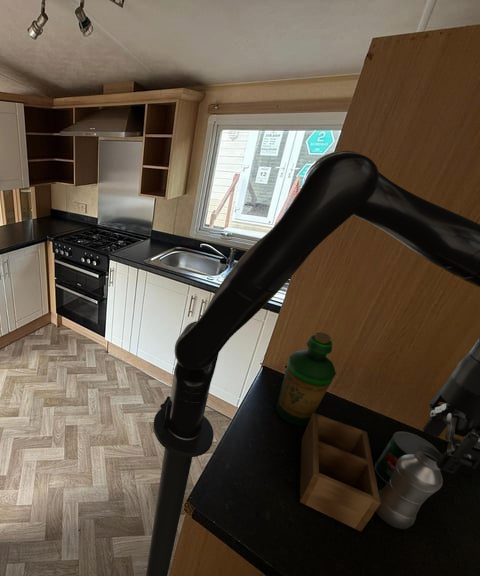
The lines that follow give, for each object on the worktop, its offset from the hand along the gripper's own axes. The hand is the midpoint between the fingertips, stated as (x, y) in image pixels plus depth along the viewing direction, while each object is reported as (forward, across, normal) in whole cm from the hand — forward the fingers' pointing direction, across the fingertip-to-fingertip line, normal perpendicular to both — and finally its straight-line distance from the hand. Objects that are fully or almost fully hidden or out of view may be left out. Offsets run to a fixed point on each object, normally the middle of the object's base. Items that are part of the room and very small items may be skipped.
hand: (436, 450), depth 58 cm
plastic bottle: (+21, 0, 0) cm, 21 cm away
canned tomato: (+21, -12, +3) cm, 25 cm away
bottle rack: (+21, -2, -11) cm, 24 cm away
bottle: (+21, -20, -19) cm, 35 cm away
